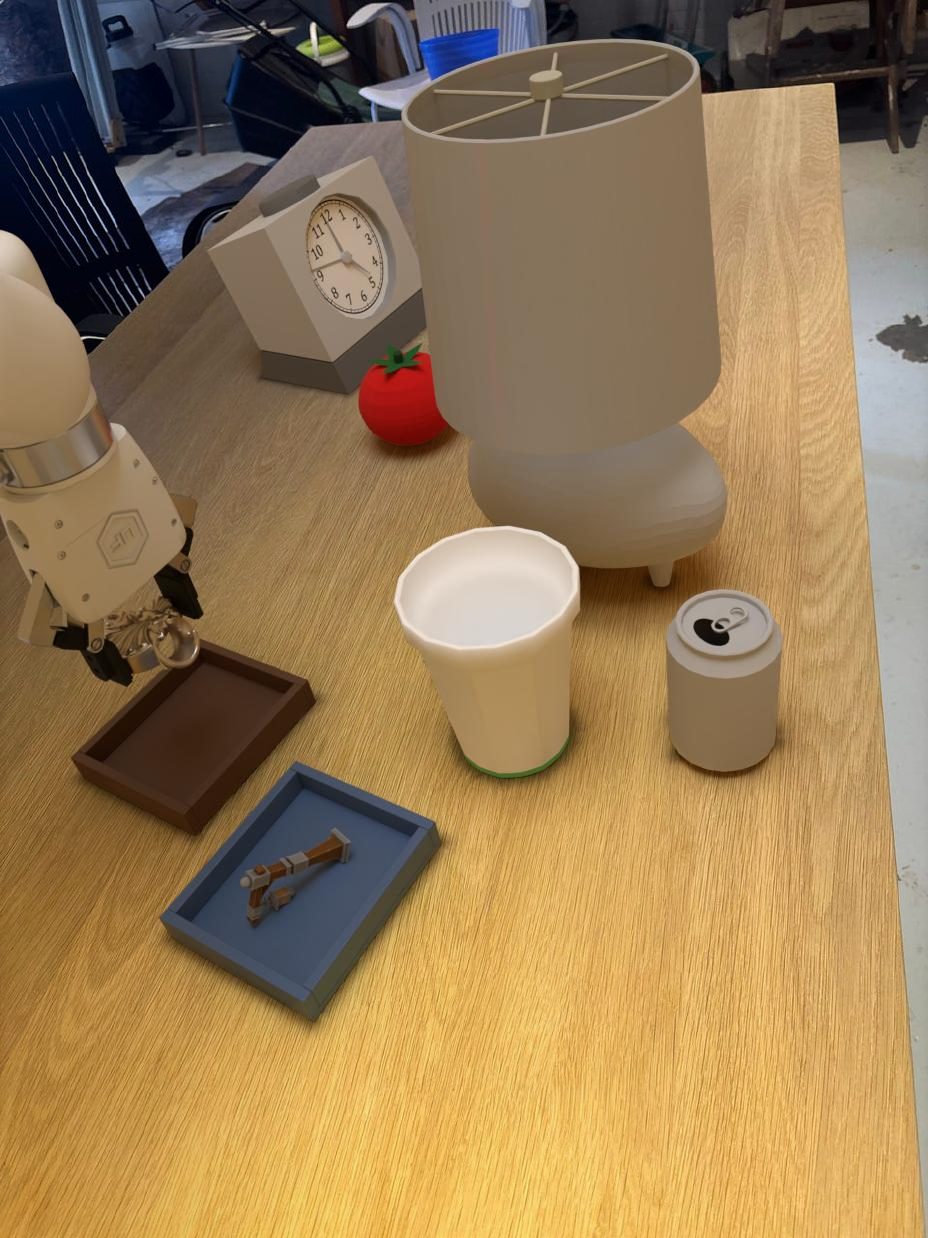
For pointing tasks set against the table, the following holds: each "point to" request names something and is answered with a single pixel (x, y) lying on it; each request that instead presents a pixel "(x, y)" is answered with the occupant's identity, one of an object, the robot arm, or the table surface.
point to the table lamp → (574, 292)
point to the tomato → (401, 398)
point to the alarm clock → (325, 278)
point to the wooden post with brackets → (294, 864)
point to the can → (723, 679)
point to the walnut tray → (195, 735)
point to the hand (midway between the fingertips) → (152, 643)
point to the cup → (496, 641)
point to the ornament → (152, 636)
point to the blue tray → (304, 888)
